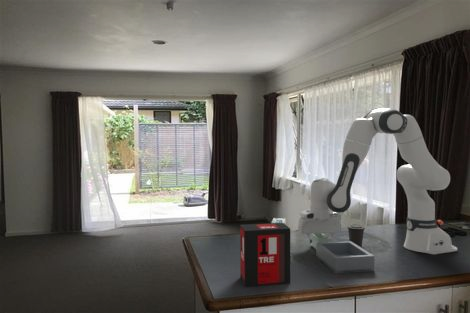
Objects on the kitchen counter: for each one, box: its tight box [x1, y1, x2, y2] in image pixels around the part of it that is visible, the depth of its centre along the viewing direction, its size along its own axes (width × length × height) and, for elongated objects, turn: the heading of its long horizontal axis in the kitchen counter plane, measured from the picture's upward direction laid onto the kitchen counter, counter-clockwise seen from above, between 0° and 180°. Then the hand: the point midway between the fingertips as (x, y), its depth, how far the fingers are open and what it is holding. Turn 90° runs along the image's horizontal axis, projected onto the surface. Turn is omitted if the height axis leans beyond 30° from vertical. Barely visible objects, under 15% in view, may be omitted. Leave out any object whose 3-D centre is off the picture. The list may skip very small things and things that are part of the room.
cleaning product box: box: [239, 222, 291, 288], centre depth 131 cm, size 16×9×20 cm, turn 99°
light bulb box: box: [270, 217, 287, 226], centre depth 180 cm, size 11×7×11 cm, turn 168°
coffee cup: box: [347, 223, 366, 248], centre depth 171 cm, size 8×8×10 cm
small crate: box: [310, 233, 329, 250], centre depth 169 cm, size 5×9×6 cm, turn 8°
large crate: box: [315, 240, 375, 274], centre depth 148 cm, size 16×20×6 cm
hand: (319, 242), depth 169 cm, fingers open, 8 cm apart
